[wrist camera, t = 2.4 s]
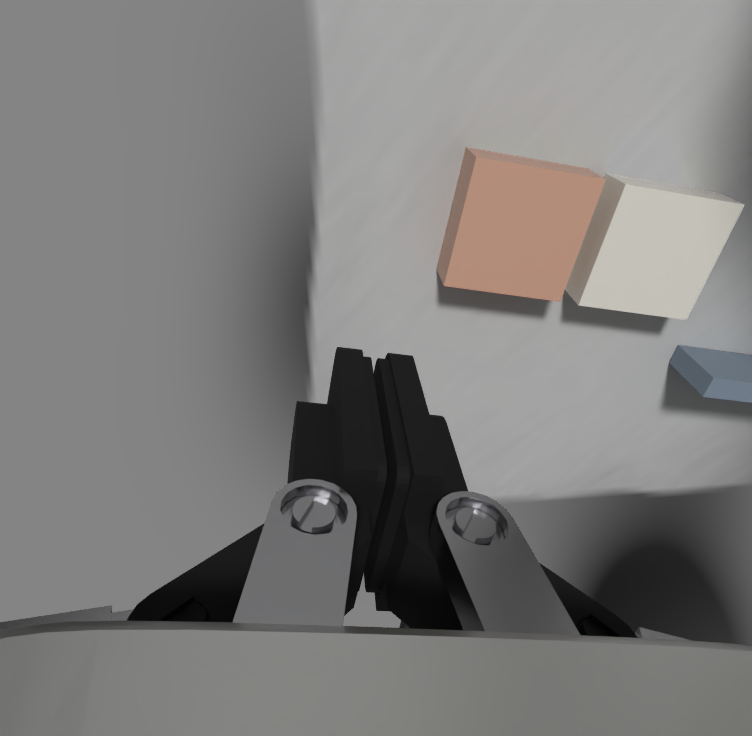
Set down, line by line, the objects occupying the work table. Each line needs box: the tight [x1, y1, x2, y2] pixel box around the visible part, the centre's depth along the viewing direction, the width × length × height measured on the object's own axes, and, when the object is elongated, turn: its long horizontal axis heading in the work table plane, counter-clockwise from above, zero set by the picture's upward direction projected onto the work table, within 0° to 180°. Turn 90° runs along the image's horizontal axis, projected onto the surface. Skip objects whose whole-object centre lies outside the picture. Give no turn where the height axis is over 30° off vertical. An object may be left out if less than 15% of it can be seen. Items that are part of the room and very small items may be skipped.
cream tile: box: [565, 173, 744, 320], centre depth 28 cm, size 6×6×2 cm
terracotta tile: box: [437, 147, 606, 302], centre depth 27 cm, size 6×6×2 cm
